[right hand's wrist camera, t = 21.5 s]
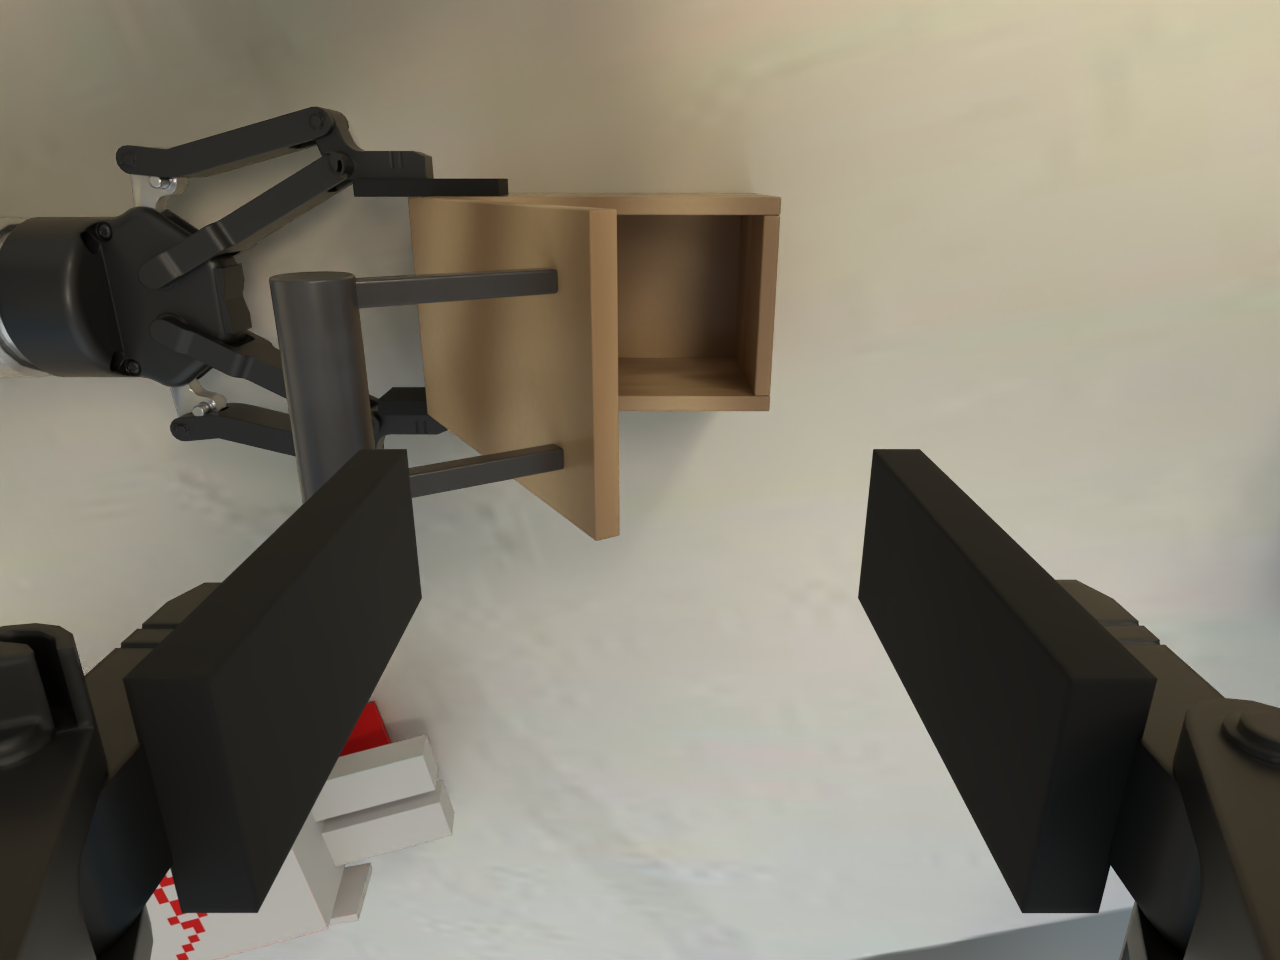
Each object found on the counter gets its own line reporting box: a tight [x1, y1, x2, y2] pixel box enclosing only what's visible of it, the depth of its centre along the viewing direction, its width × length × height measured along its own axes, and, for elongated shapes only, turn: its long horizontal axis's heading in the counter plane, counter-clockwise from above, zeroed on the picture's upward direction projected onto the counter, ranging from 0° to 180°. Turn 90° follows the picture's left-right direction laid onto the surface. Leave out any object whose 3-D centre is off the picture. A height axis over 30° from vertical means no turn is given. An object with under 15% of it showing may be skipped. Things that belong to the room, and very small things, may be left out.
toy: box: [146, 701, 454, 960], centre depth 52 cm, size 12×13×30 cm
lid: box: [269, 197, 619, 541], centre depth 28 cm, size 16×10×8 cm
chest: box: [426, 193, 781, 411], centre depth 41 cm, size 16×10×9 cm, turn 90°
